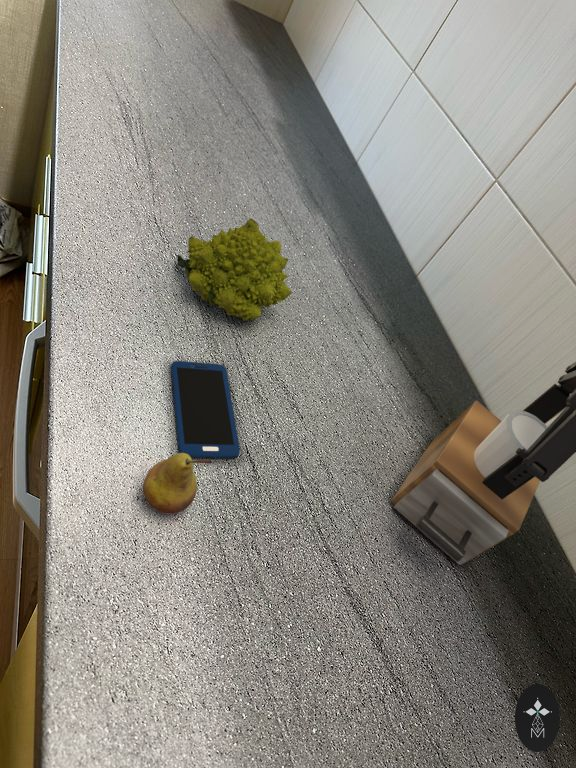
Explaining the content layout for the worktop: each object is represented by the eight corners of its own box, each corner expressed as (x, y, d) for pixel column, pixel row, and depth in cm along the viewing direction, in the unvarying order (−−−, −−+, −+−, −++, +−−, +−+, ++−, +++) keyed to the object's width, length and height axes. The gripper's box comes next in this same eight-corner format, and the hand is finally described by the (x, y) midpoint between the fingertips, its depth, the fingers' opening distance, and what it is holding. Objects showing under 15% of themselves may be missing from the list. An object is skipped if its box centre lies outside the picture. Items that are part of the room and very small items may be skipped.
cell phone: (179, 458, 66) (180, 455, 65) (169, 363, 74) (171, 359, 73) (239, 459, 69) (241, 456, 68) (224, 367, 77) (225, 364, 76)
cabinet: (462, 564, 72) (519, 531, 64) (390, 501, 74) (436, 460, 66) (496, 496, 81) (549, 460, 74) (431, 441, 83) (476, 400, 75)
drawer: (446, 591, 68) (494, 565, 61) (378, 530, 69) (416, 498, 63) (491, 501, 79) (535, 471, 73) (431, 450, 81) (469, 416, 74)
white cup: (459, 443, 69) (496, 411, 64) (499, 438, 72) (537, 407, 67) (487, 494, 66) (527, 465, 61) (527, 487, 69) (569, 459, 64)
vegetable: (149, 240, 80) (233, 182, 74) (215, 275, 94) (291, 227, 88) (174, 332, 75) (266, 278, 70) (240, 355, 89) (321, 311, 83)
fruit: (186, 473, 65) (215, 416, 57) (192, 520, 62) (224, 468, 53) (136, 474, 63) (158, 415, 54) (140, 523, 60) (164, 469, 51)
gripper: (646, 262, 60) (514, 381, 76) (606, 373, 43) (446, 498, 59) (707, 306, 59) (561, 418, 75) (690, 438, 42) (505, 548, 58)
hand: (510, 453), depth 67 cm, fingers open, 13 cm apart
